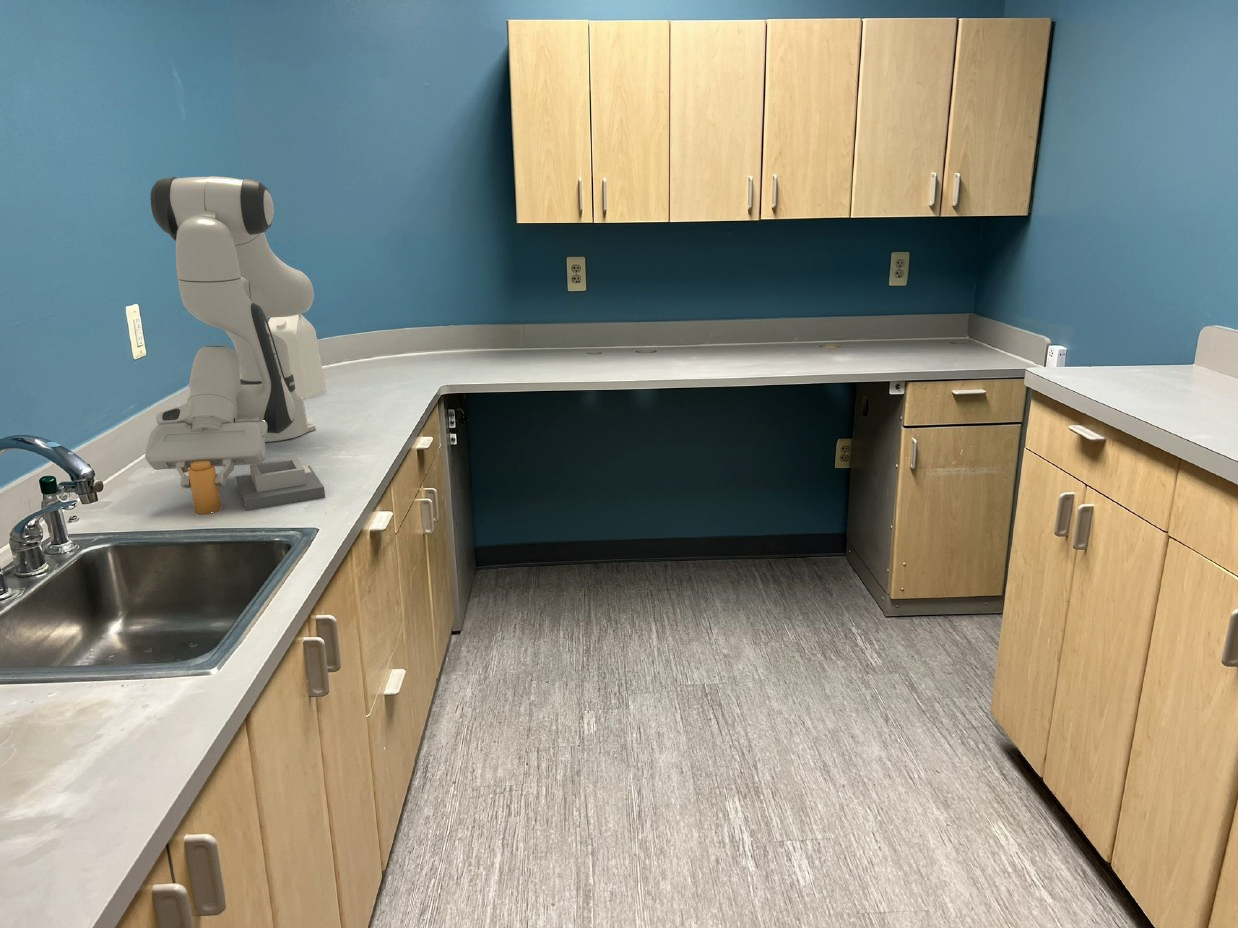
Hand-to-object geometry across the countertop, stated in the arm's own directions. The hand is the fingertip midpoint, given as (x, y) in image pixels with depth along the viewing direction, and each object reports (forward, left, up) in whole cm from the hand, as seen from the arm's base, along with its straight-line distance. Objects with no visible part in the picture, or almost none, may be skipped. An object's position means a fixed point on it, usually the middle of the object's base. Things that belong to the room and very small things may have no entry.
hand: (202, 485), depth 156 cm
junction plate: (-5, +13, -5) cm, 15 cm away
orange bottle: (-1, 0, -5) cm, 5 cm away
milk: (-96, +30, -5) cm, 100 cm away
